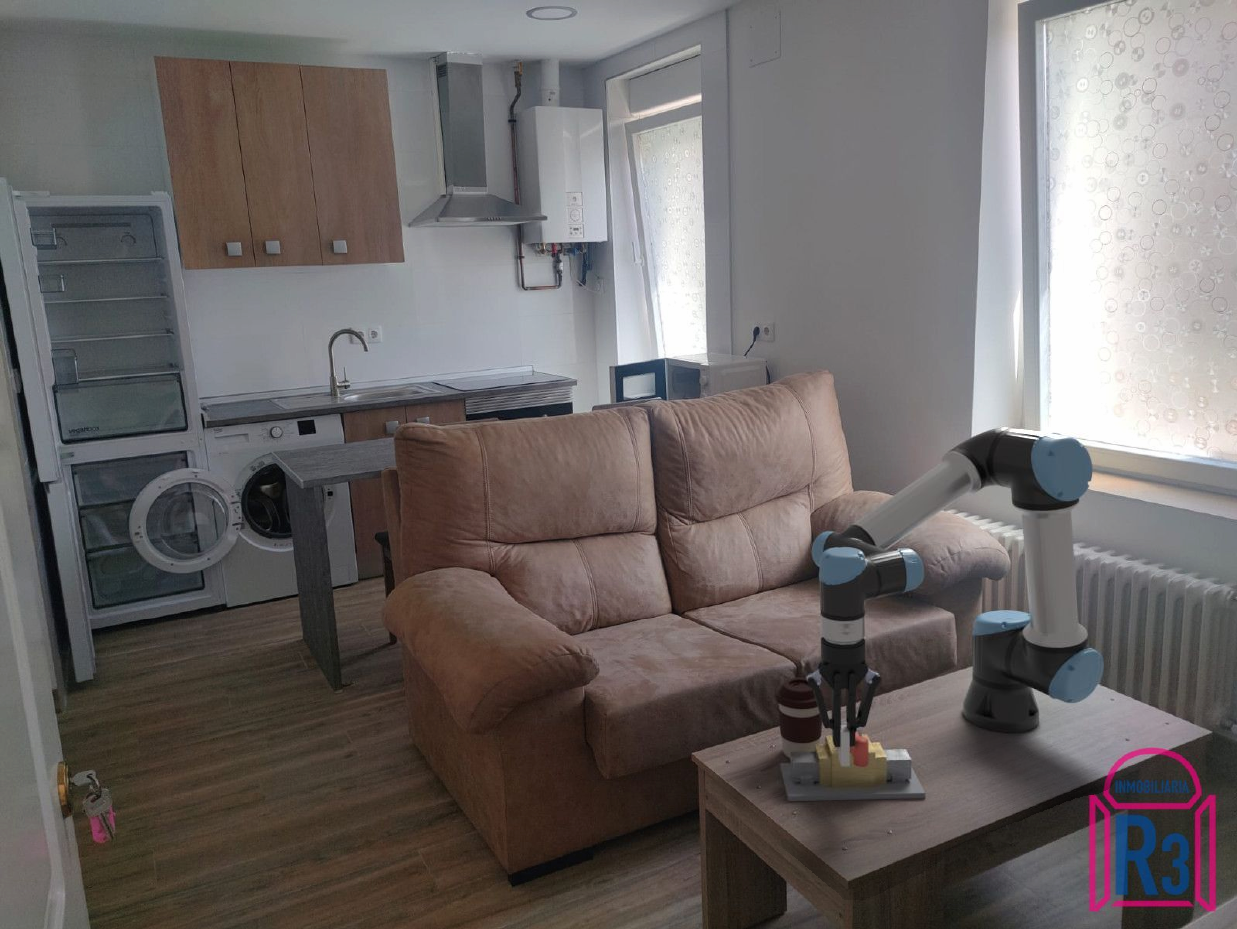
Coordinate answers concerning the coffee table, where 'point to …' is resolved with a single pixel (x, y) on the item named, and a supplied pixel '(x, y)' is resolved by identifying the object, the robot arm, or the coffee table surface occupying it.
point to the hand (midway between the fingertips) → (844, 762)
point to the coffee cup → (798, 716)
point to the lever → (860, 748)
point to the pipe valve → (831, 773)
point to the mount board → (850, 789)
